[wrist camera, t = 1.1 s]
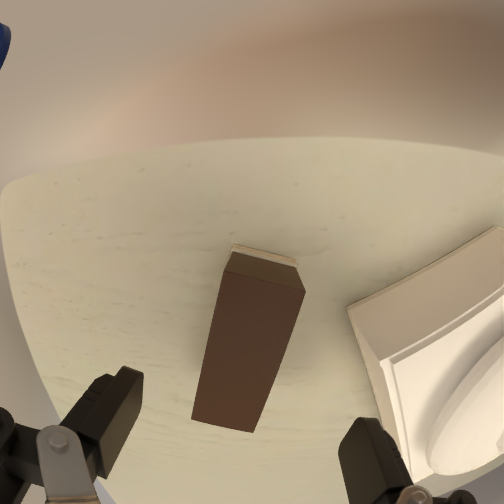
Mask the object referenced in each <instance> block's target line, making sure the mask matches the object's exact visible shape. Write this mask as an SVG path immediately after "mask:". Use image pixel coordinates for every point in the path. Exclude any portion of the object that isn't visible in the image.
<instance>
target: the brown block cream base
mask: <svg viewBox="0 0 504 504" xmlns="http://www.w3.org/2000/svg"><path fill="white" fill-rule="evenodd" d="M297 266H298V265H297V262H296V260H294V259H291V258H287V257H283V256H279V255H275V254H271V253H267V252H263V251H259V250H255V249H251V248H247V247H244V246H240V245H236V244H233V246H232V248H231V252H230V256H229V260H228V262H227V265H226V267H225V269H224V272H223V276H222V280H221V284H220V289H219V293H218V297H217V302H216V306H215V310H214V315H213V319H212V323H211V328H210V332H209V337H208V341H207V346H206V350H205V355H204V360H203V364H202V369H201V374H200V378H199V383H198V388H197V392H196V397H195V402H194V407H193V412H192V417H191V419H192V420H196V421H199V422H203V423H208V424H212V425H216V426H220V427H225V428H230V429H235V430H240V431H245V432H251V433H253V432H254V430H255V427H256V425H257V423H258V420H259V418H260V415H261V413H262V411H263V408H264V406H265V403H266V401H267V398H268V396H269V393H270V390H271V388H272V385H273V383H274V380H275V377H276V375H277V372H278V370H279V367H280V364H281V362H282V359H283V356H284V353H285V351H286V348H287V345H288V342H289V339H290V337H291V334H292V331H293V328H294V325H295V322H296V319H297V316H298V314H299V311H300V308H301V305H302V302H303V299H304V295H305V292H306V291H305V288H304V286H303V284H302V281H301V279H300V277H299V274H298V272H297V270H296V269H297Z"/></svg>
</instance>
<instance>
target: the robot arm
mask: <svg viewBox="0 0 504 504" xmlns="http://www.w3.org/2000/svg"><path fill="white" fill-rule="evenodd" d="M143 379H144V374H143V372H140V371H137V370H134V369H132V368H129V367H126V366H122V367H121V369H120V370H119V371H118V373H117V374H116V375H115V376H112V375H110V374H105V375H103V376H101V377H99V378H97V379H95V380H94V382H93V383H92V384H91V385H90V387H89V388H88V390H86V391H85V393H84V394H83V396H82V397H81V398H80V399H79V400H78V402H77V403H76V404H75V405H74V407H73V408H72V409H71V410H70V412H69V413H68V414H67V416H66V417H65V418H64V419H63V421H62V422H61V423H60V424H59V425H51V426H47V427H45V428H43V429H42V430H38V429H34V428H30V427H26V426H24V425H20V424H17V423H15V422H14V420H13V418H12V415H11V414H10V413H9V412H8V411H7V410H5V409H4V408H1V407H0V504H21V502H22V500H23V498H24V496H25V494H26V493H27V491H28V489H29V487H30V485H31V484H35V485H39V486H42V487H44V488H45V493H46V497H47V500H46V501H45V504H101V503H100V501H99V498H98V496H97V493H96V491H95V488H94V485H93V483H94V481H95V479H96V477H97V475H98V476H100V477H102V478H104V479H107V477H108V475H109V473H110V471H111V469H112V467H113V465H114V463H115V461H116V459H117V457H118V455H119V453H120V451H121V449H122V447H123V445H124V443H125V441H126V439H127V437H128V435H129V433H130V431H131V429H132V427H133V425H134V423H135V421H136V420H137V418H138V415H139V413H140V410H141V405H142V394H143ZM338 456H339V460H340V465H341V469H342V473H343V477H344V482H345V486H346V490H347V495H348V499H349V504H477V502H476V500H475V498H474V496H473V495H472V494H471V493H470V492H468V491H466V490H457V491H455V492H453V493H452V494H451V495H450V496H449V497H448V498H439V497H432V496H431V494H430V493H429V491H428V490H426V489H425V488H423V487H421V486H417V485H414V484H413V482H412V479H411V477H410V475H409V472H408V470H407V468H406V465H405V463H404V461H403V458H401V454H400V452H399V450H398V447H397V445H396V443H395V441H394V439H393V438H392V437H391V436H390V434H389V433H388V432H387V431H386V430H383V429H382V427H381V424H380V422H379V420H378V419H377V418H364V417H359V418H357V419H356V420H355V421H354V423H353V425H352V426H351V428H350V429H349V431H348V432H347V434H346V435H345V437H344V438H343V440H342V441H341V443H340V446H339V450H338Z"/></svg>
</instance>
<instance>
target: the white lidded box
mask: <svg viewBox="0 0 504 504" xmlns="http://www.w3.org/2000/svg"><path fill="white" fill-rule="evenodd" d="M345 308H346V310H347V313H348V316H349V319H350V322H351V325H352V327H353V330H354V333H355V336H356V339H357V342H358V345H359V348H360V351H361V354H362V357H363V360H364V364H365V367H366V370H367V373H368V376H369V380H370V383H371V386H372V390H373V393H374V396H375V400H376V403H377V407H378V410H379V414H380V417H381V421H382V425H383V428H384V430H386V431H387V432H388V433H389V434H390V436H391V437H392V438H393V439H394V441H395V443H396V445H397V447H398V450H399V452H400V454H401V458H403V461H404V463H405V465H406V468H407V470H408V472H409V475H410V477H411V479H412V482H413V484H414V483H416V482H418V481H420V480H422V479H424V478H426V477H427V476H429V475H431V474H433V473H435V472H436V473H438V474H442V475H458V474H461V473H465V472H468V471H472V470H474V469H477V468H479V467H481V466H483V465H485V464H486V463H488V462H490V461H491V460H493V459H495V458H496V457H498V456H499V455H500V454H502V453H503V454H504V228H501V227H497V226H493V227H491V228H490V229H488V230H487V231H485V232H484V233H482V234H480V235H479V236H477V237H476V238H474V239H472V240H471V241H469V242H468V243H466V244H464V245H463V246H461V247H459V248H458V249H456V250H454V251H452V252H451V253H449V254H447V255H446V256H444V257H442V258H440V259H439V260H437V261H435V262H433V263H431V264H430V265H428V266H426V267H424V268H422V269H421V270H419V271H417V272H415V273H413V274H411V275H409V276H407V277H406V278H404V279H402V280H400V281H398V282H396V283H394V284H392V285H390V286H388V287H386V288H384V289H382V290H380V291H378V292H376V293H374V294H372V295H370V296H368V297H366V298H364V299H362V300H360V301H357V302H355V303H353V304H351V305H349V306H347V307H345Z"/></svg>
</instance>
